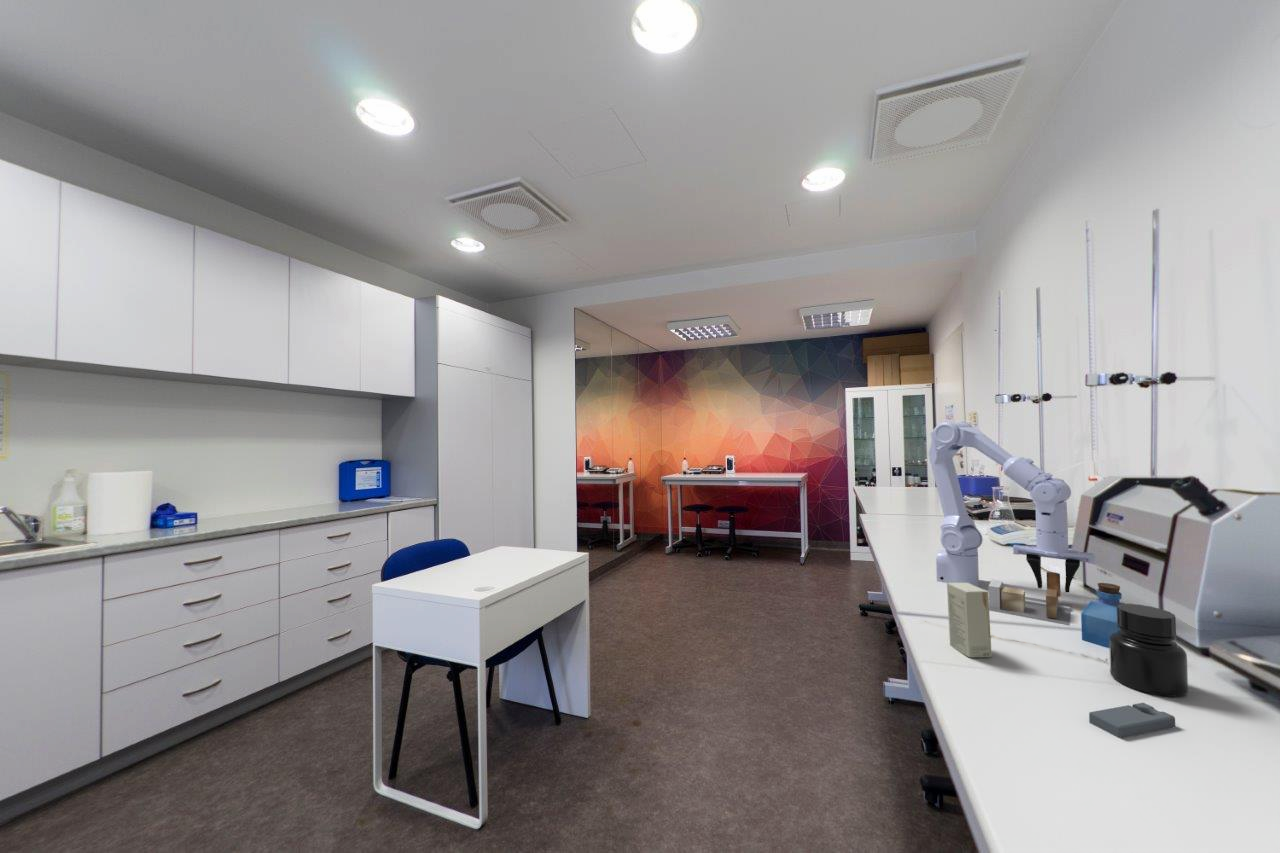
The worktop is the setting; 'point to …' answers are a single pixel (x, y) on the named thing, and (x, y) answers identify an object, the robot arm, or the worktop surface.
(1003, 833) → the worktop surface
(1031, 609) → the press base
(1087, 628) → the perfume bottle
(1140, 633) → the ink bottle
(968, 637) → the skincare box
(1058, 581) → the press jaw
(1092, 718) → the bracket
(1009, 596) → the birch cube
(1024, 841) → the worktop surface
